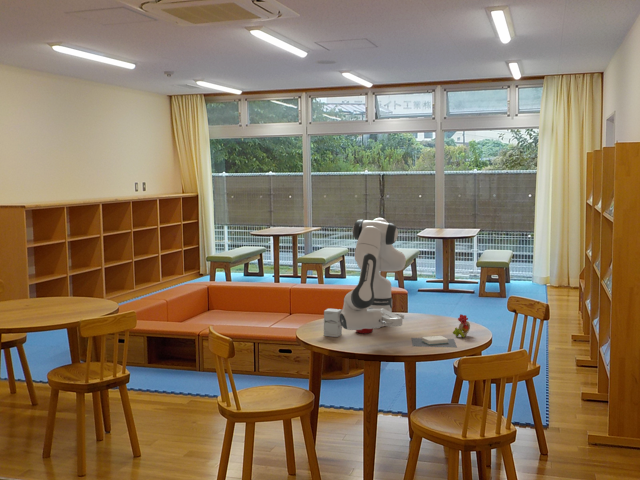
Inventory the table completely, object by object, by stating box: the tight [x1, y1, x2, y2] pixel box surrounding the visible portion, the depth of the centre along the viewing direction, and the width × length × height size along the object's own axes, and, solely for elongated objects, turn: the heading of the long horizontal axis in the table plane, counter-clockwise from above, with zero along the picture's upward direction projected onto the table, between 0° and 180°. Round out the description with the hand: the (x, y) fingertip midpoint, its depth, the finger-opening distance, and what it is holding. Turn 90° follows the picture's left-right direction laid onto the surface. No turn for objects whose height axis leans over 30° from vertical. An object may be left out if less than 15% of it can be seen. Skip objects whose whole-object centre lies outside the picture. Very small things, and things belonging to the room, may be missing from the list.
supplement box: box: [323, 308, 343, 338], centre depth 323 cm, size 7×7×13 cm
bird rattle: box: [452, 314, 471, 338], centre depth 322 cm, size 6×11×9 cm
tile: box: [421, 335, 449, 345], centre depth 308 cm, size 2×7×10 cm
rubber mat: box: [411, 337, 458, 348], centre depth 307 cm, size 20×16×1 cm
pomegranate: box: [355, 328, 374, 335], centre depth 330 cm, size 10×10×9 cm
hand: (402, 316), depth 303 cm, fingers closed
